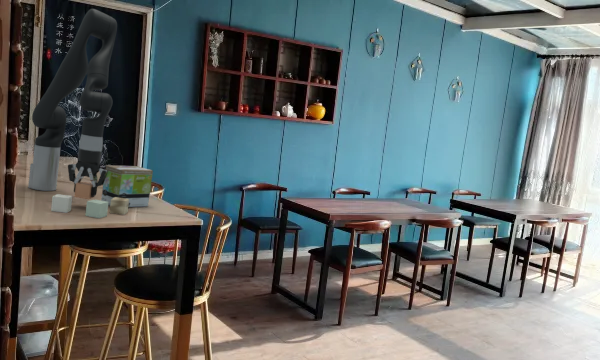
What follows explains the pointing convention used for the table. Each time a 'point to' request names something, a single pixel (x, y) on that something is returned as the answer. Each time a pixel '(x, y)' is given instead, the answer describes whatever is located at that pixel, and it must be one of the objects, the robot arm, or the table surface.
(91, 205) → the sage cube
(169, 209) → the table surface
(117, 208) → the maple cube
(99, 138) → the robot arm
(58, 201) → the cream cube
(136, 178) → the tea box
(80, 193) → the terracotta cube
